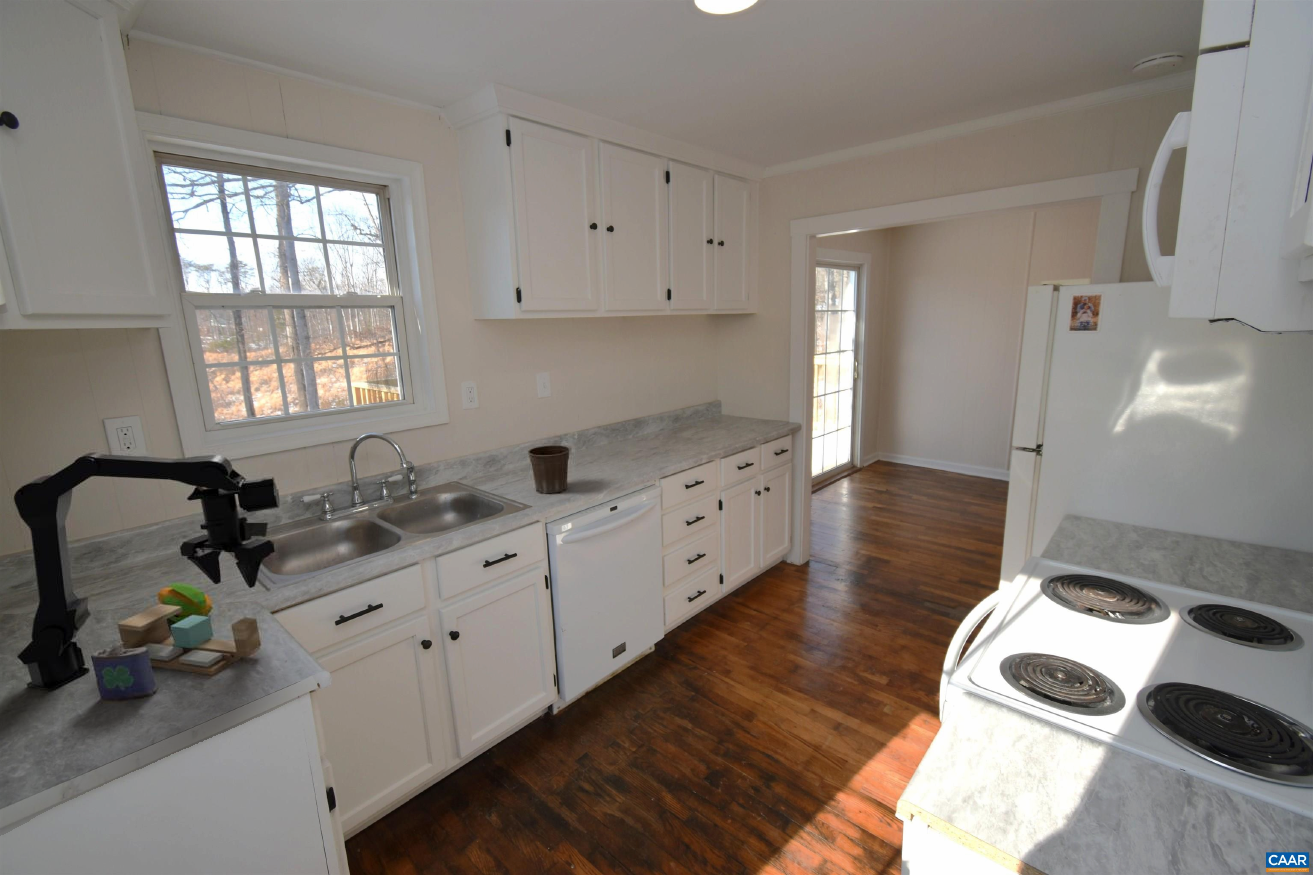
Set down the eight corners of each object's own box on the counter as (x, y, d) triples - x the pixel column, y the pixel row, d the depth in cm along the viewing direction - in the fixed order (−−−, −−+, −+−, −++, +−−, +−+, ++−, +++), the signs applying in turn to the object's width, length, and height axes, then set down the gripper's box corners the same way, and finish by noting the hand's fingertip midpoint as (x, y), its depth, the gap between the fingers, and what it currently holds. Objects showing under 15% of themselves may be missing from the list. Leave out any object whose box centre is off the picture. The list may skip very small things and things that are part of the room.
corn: (180, 600, 125) (137, 582, 134) (184, 632, 126) (141, 613, 135) (219, 588, 132) (175, 572, 141) (222, 619, 133) (179, 601, 142)
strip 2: (248, 658, 114) (242, 626, 113) (173, 647, 119) (166, 616, 117) (261, 649, 117) (256, 618, 115) (187, 639, 121) (181, 609, 120)
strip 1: (207, 666, 112) (206, 662, 111) (133, 655, 116) (132, 651, 116) (222, 657, 114) (221, 653, 114) (149, 647, 119) (148, 643, 119)
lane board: (212, 675, 111) (204, 635, 109) (126, 661, 116) (117, 623, 114) (250, 651, 119) (242, 614, 117) (167, 640, 124) (159, 604, 122)
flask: (161, 688, 107) (148, 637, 105) (149, 698, 104) (136, 646, 102) (108, 692, 107) (94, 640, 104) (94, 702, 104) (80, 649, 101)
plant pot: (568, 495, 217) (566, 454, 213) (526, 496, 217) (523, 455, 214) (575, 483, 233) (573, 444, 229) (536, 484, 233) (533, 445, 230)
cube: (192, 648, 116) (187, 628, 115) (174, 645, 117) (170, 626, 116) (213, 636, 120) (209, 616, 120) (196, 634, 121) (192, 614, 121)
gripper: (291, 506, 124) (301, 572, 128) (222, 501, 129) (235, 565, 132) (244, 524, 114) (257, 596, 117) (171, 518, 118) (186, 587, 122)
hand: (234, 585), depth 122 cm, fingers open, 9 cm apart
